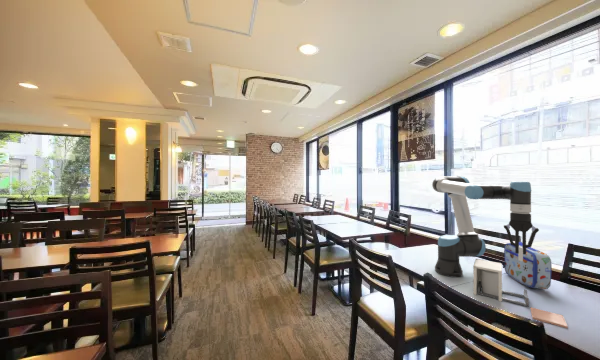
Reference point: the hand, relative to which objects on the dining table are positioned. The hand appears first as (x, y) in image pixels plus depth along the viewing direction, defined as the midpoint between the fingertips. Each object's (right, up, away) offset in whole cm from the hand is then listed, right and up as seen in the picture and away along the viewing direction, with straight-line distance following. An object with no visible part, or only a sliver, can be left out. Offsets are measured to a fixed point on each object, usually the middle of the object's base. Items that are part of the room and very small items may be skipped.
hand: (520, 260), depth 115 cm
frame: (-5, -20, +5) cm, 21 cm away
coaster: (-2, -20, -14) cm, 25 cm away
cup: (-8, -20, +7) cm, 23 cm away
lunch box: (+23, -20, +22) cm, 37 cm away
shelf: (-9, -20, +8) cm, 23 cm away
